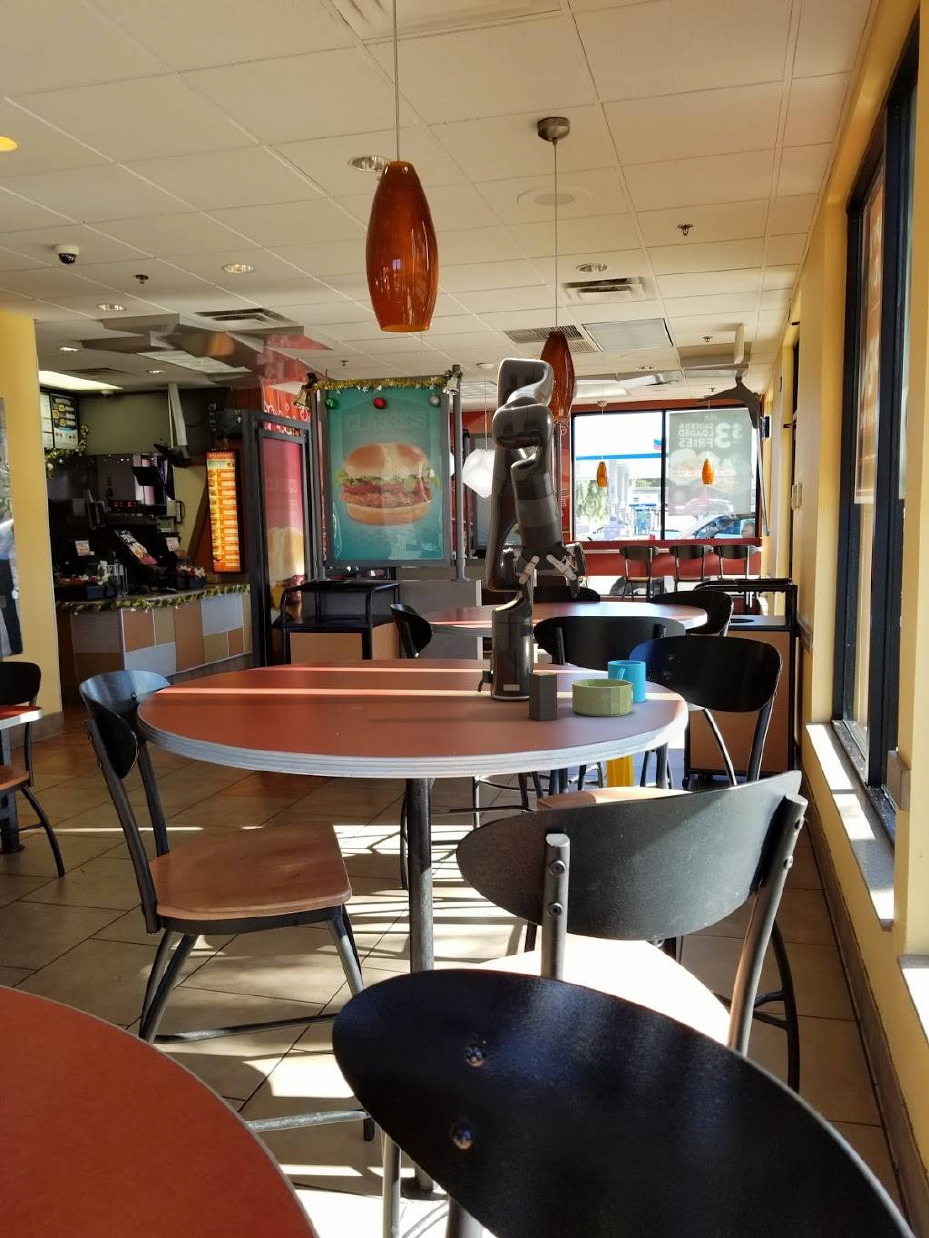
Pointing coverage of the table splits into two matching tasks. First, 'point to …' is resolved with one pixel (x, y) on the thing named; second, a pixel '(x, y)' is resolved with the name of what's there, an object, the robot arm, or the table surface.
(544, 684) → the dark rectangular block
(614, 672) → the mug
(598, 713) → the bowl
